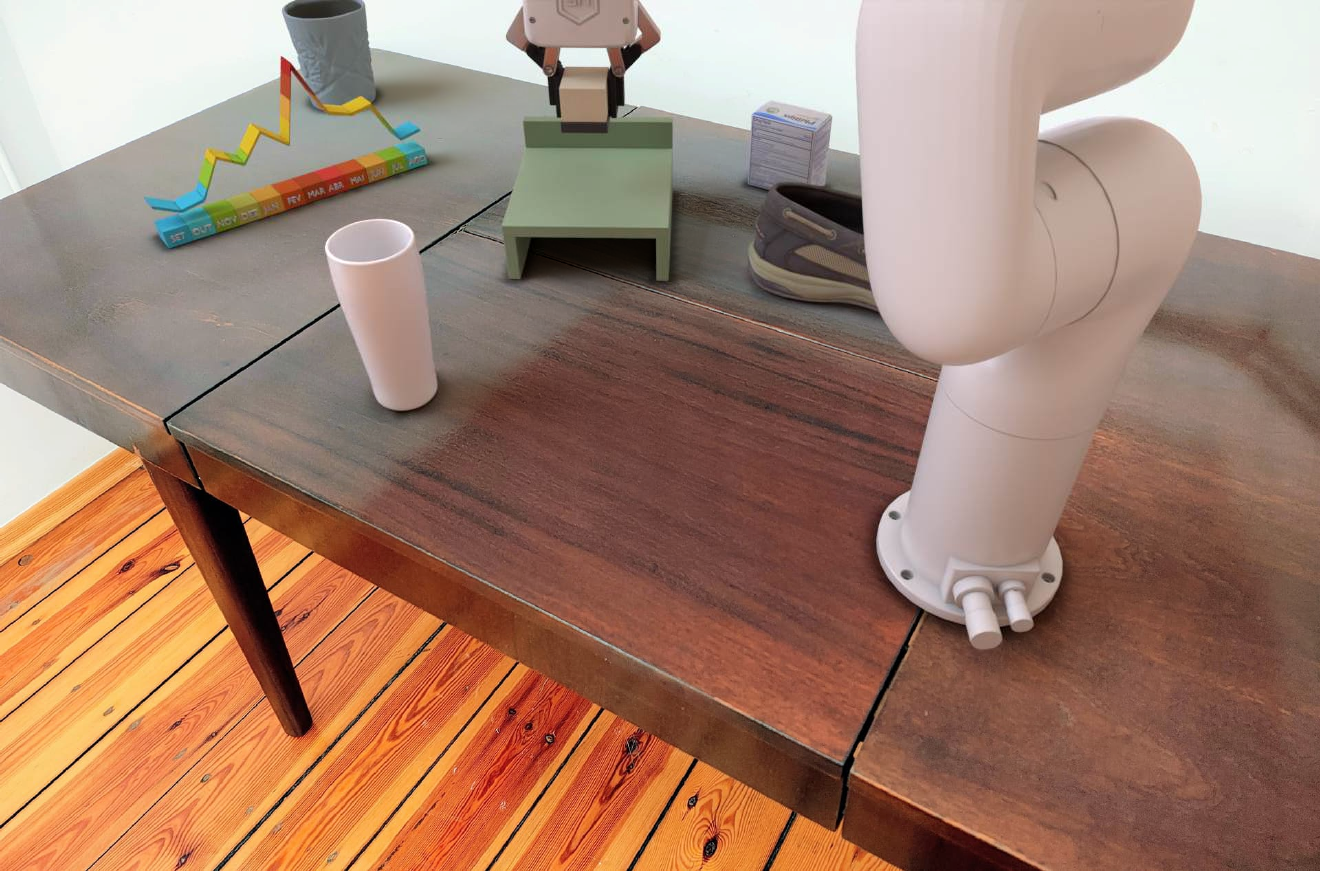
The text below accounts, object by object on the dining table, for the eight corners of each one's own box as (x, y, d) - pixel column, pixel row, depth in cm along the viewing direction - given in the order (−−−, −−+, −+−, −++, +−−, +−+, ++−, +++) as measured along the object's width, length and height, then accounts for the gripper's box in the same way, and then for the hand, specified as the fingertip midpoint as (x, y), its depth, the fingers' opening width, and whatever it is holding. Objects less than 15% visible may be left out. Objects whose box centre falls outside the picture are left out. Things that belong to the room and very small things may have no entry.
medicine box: (825, 187, 107) (834, 113, 101) (808, 203, 104) (816, 129, 98) (764, 170, 110) (769, 98, 104) (746, 185, 107) (750, 112, 101)
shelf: (668, 281, 93) (668, 199, 87) (508, 279, 93) (497, 197, 87) (672, 193, 106) (672, 117, 100) (532, 192, 106) (524, 116, 100)
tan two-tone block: (607, 133, 88) (605, 89, 85) (561, 133, 88) (557, 89, 85) (613, 98, 94) (611, 56, 91) (569, 98, 94) (566, 56, 91)
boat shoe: (1057, 345, 84) (1093, 241, 77) (737, 310, 89) (742, 208, 82) (1045, 280, 92) (1077, 180, 85) (751, 251, 97) (758, 153, 90)
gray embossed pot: (293, 111, 123) (267, 16, 115) (326, 81, 131) (303, -10, 123) (366, 116, 122) (344, 21, 114) (394, 85, 129) (376, -6, 121)
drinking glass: (409, 430, 77) (369, 274, 66) (350, 402, 79) (303, 248, 69) (463, 385, 81) (434, 232, 71) (405, 360, 83) (369, 209, 73)
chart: (169, 249, 98) (112, 110, 88) (160, 237, 100) (102, 99, 89) (428, 164, 112) (404, 36, 102) (415, 155, 114) (391, 28, 103)
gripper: (467, -88, 76) (495, 128, 88) (675, -87, 75) (673, 130, 88) (483, -110, 81) (507, 96, 94) (676, -110, 81) (675, 97, 93)
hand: (588, 110), depth 90 cm, fingers closed on tan two-tone block, 4 cm apart
